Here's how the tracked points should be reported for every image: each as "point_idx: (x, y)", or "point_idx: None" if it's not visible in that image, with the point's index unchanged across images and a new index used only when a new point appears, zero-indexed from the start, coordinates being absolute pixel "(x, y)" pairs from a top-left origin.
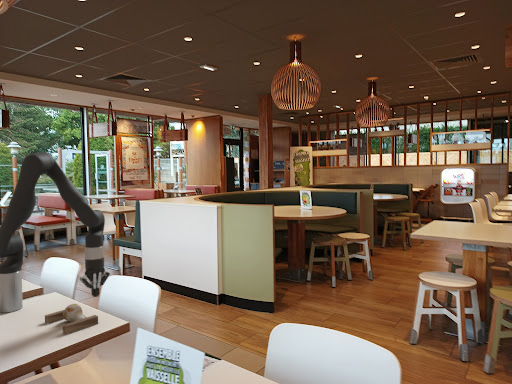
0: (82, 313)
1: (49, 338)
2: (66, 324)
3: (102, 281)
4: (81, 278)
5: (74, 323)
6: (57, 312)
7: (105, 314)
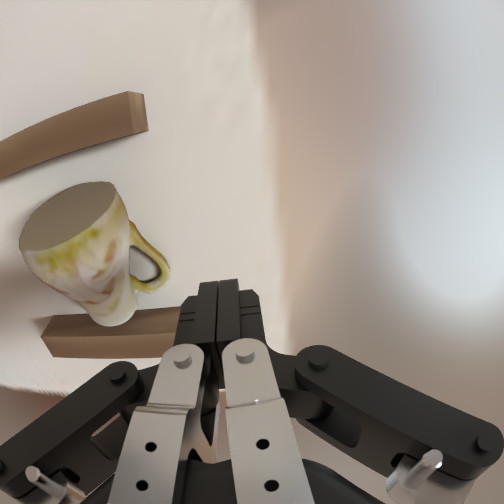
0: (120, 288)
1: (22, 322)
2: (52, 339)
3: (322, 438)
4: (13, 495)
5: (81, 353)
6: (15, 148)
7: (275, 247)
